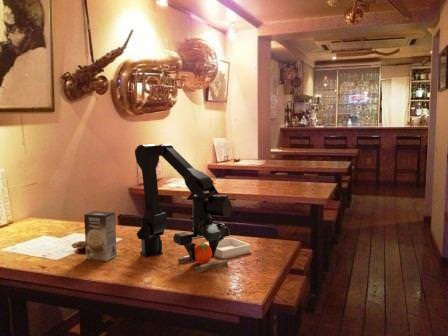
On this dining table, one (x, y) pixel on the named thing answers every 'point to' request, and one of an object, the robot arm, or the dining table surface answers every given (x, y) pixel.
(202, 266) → the cradle
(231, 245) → the bin
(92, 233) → the coffee box
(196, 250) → the clementine
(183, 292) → the dining table surface
